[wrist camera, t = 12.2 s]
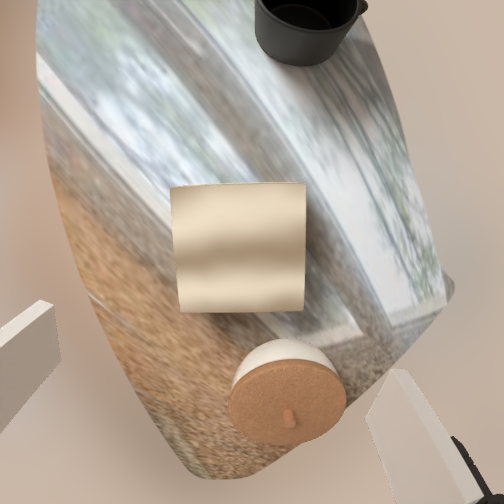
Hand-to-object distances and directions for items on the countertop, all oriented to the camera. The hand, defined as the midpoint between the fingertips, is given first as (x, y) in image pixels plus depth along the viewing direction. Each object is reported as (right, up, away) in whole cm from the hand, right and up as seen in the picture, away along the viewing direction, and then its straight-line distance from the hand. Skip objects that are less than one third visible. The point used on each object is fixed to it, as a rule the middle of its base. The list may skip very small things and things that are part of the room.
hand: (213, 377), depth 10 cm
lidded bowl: (+5, -10, +27) cm, 29 cm away
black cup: (+8, +29, +17) cm, 35 cm away
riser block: (0, +6, +23) cm, 24 cm away
